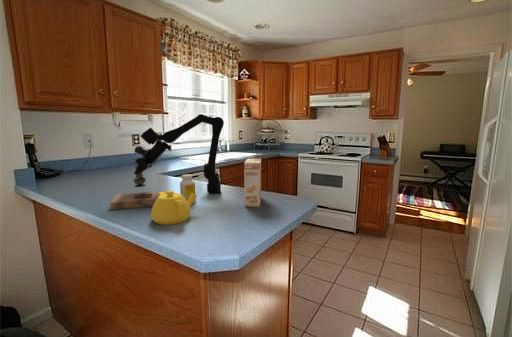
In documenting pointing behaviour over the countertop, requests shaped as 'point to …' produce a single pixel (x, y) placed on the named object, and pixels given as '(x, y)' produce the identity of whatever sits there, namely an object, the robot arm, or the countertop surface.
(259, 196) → the coffeecake box
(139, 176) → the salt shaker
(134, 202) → the board
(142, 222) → the countertop surface
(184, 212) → the teapot
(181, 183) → the supplement bottle
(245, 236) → the countertop surface
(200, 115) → the robot arm
